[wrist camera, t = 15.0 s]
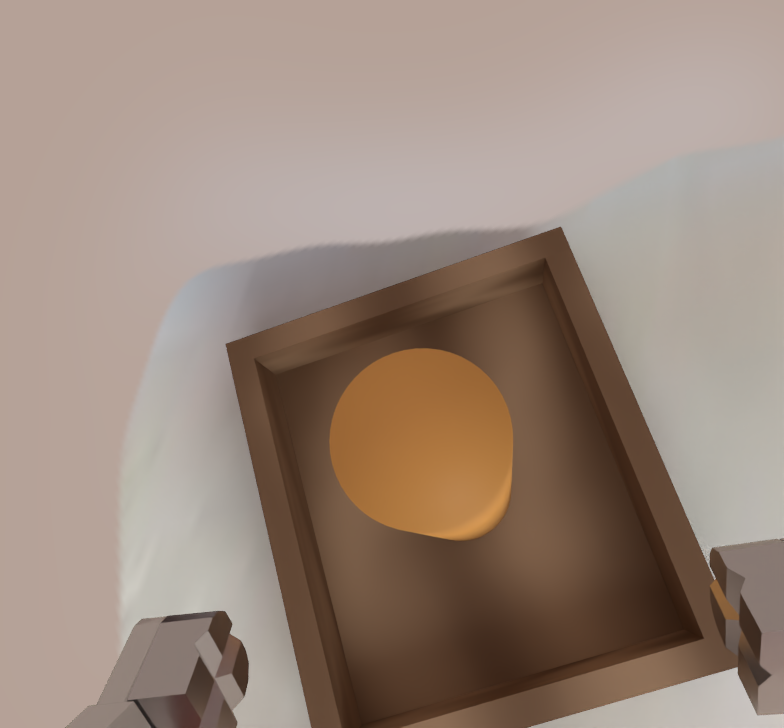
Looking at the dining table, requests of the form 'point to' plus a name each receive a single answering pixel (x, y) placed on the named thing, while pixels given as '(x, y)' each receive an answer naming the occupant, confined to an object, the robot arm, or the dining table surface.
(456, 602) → the walnut tray
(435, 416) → the pin
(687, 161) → the dining table surface
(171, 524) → the dining table surface
